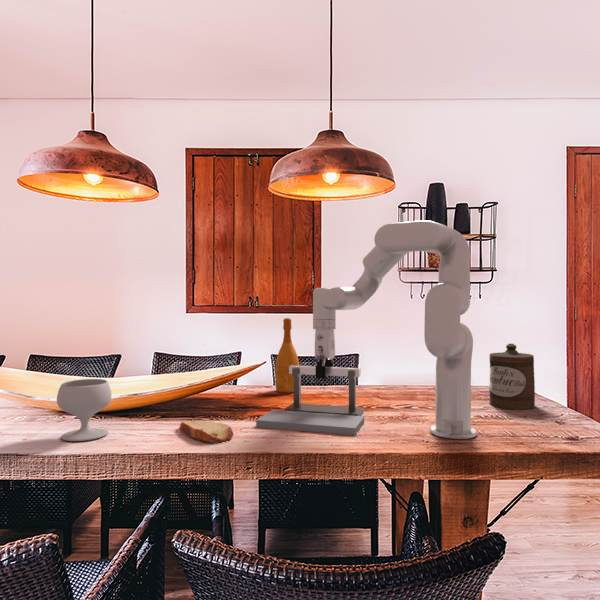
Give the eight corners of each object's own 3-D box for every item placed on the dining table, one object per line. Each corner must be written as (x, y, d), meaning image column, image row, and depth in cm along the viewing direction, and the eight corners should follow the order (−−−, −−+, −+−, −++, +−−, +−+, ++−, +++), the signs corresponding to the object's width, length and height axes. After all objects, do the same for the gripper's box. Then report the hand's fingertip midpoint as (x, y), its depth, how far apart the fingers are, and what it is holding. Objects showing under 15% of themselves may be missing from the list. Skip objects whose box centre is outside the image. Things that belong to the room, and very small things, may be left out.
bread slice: (182, 426, 148) (182, 414, 147) (241, 427, 146) (241, 415, 146) (161, 444, 130) (161, 430, 130) (227, 445, 128) (227, 431, 128)
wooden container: (481, 404, 175) (481, 343, 175) (501, 399, 184) (501, 341, 184) (523, 412, 164) (523, 346, 163) (541, 405, 173) (541, 343, 173)
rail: (359, 377, 158) (359, 369, 158) (289, 373, 165) (289, 366, 165) (360, 375, 160) (360, 368, 160) (291, 372, 167) (291, 365, 167)
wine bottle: (303, 390, 202) (303, 318, 202) (291, 394, 194) (291, 319, 194) (283, 388, 207) (283, 317, 207) (270, 392, 199) (270, 318, 199)
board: (355, 435, 136) (355, 428, 136) (256, 426, 145) (256, 420, 145) (364, 422, 150) (364, 416, 150) (272, 415, 159) (272, 409, 159)
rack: (358, 419, 154) (358, 372, 154) (284, 413, 162) (283, 369, 162) (364, 412, 164) (364, 368, 164) (293, 407, 171) (293, 365, 171)
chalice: (52, 434, 137) (51, 381, 137) (103, 426, 146) (103, 376, 146) (63, 447, 126) (62, 389, 126) (118, 437, 135) (118, 383, 135)
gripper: (328, 326, 153) (328, 380, 153) (340, 323, 170) (341, 372, 170) (306, 326, 155) (306, 379, 156) (320, 323, 172) (320, 371, 172)
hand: (324, 375), depth 163 cm, fingers open, 9 cm apart
